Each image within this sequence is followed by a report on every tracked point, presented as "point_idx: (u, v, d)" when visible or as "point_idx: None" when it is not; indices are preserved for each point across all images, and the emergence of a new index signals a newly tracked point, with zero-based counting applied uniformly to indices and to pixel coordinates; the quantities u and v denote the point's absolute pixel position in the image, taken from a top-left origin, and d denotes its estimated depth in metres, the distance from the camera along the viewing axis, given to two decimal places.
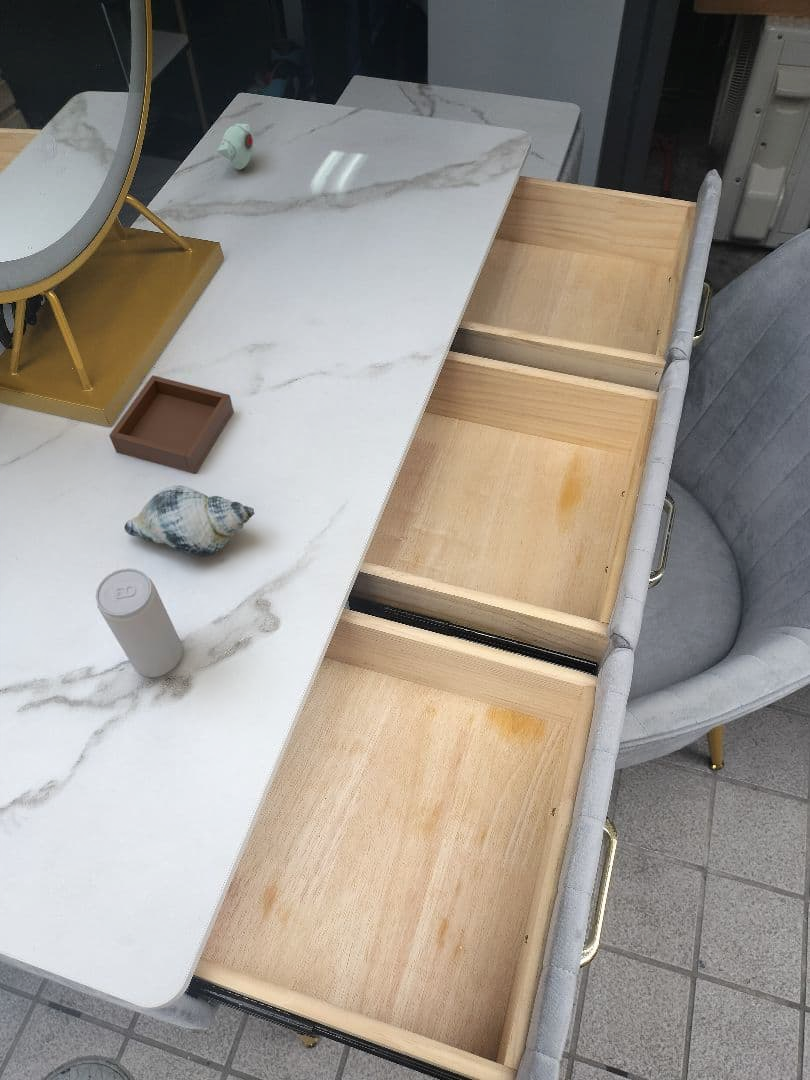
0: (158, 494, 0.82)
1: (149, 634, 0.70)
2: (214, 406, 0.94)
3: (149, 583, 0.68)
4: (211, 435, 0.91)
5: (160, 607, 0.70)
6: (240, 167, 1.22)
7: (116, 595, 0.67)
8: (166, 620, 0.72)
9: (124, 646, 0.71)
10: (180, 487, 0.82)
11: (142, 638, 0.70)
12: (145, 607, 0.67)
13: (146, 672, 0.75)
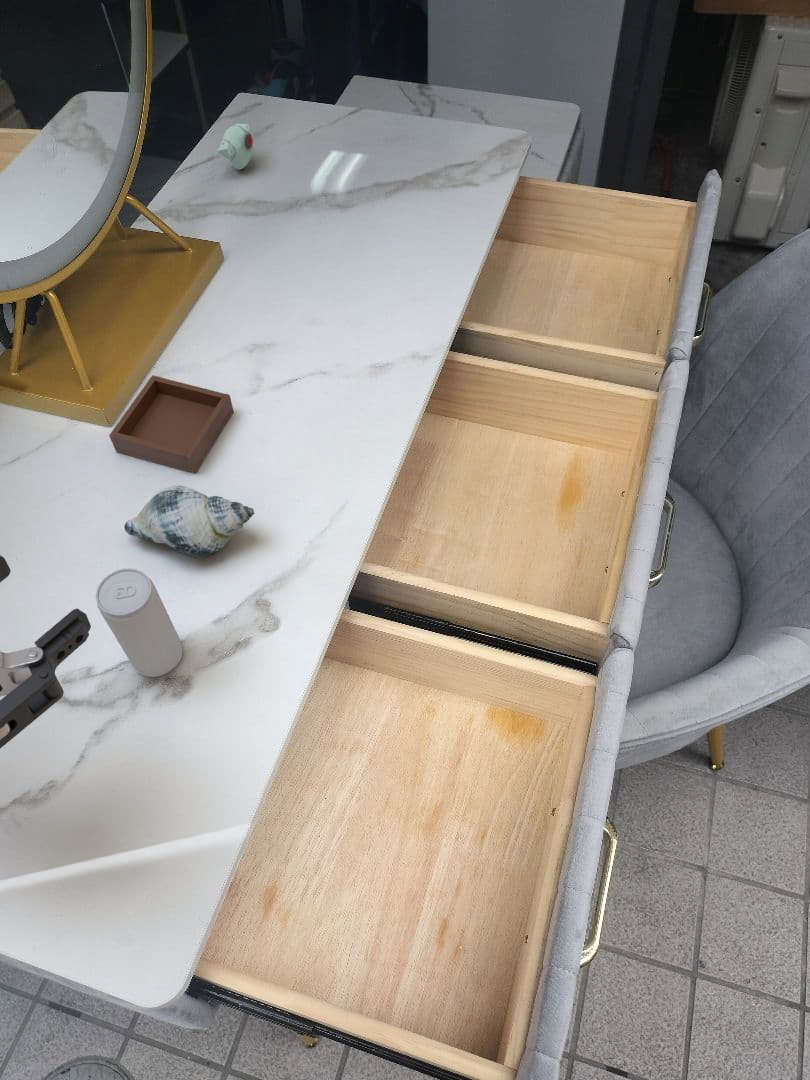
0: (158, 494, 0.82)
1: (149, 634, 0.70)
2: (214, 406, 0.94)
3: (149, 583, 0.68)
4: (211, 435, 0.91)
5: (160, 607, 0.70)
6: (240, 167, 1.22)
7: (116, 595, 0.67)
8: (166, 620, 0.72)
9: (124, 646, 0.71)
10: (180, 487, 0.82)
11: (142, 638, 0.70)
12: (145, 607, 0.67)
13: (146, 672, 0.75)
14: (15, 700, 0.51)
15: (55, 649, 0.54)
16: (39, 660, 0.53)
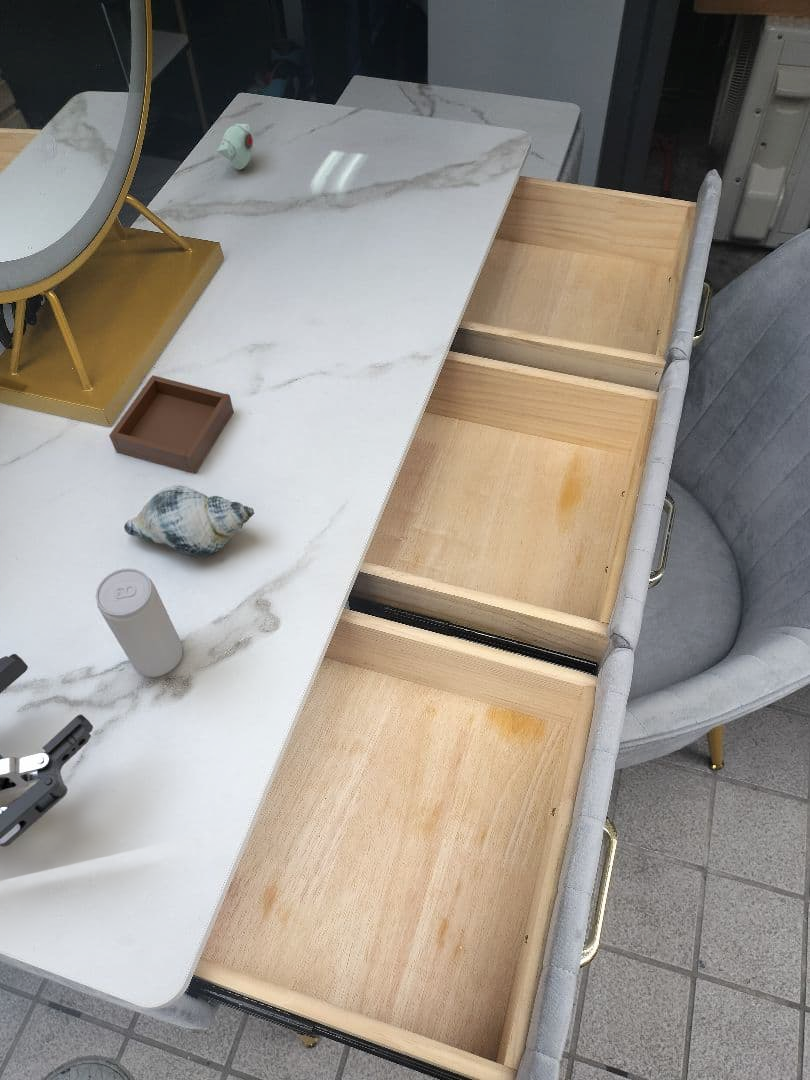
0: (158, 494, 0.82)
1: (149, 634, 0.70)
2: (214, 406, 0.94)
3: (149, 583, 0.68)
4: (211, 435, 0.91)
5: (160, 607, 0.70)
6: (240, 167, 1.22)
7: (116, 595, 0.67)
8: (166, 620, 0.72)
9: (124, 646, 0.71)
10: (180, 487, 0.82)
11: (142, 638, 0.70)
12: (145, 607, 0.67)
13: (146, 672, 0.75)
14: (23, 804, 0.60)
15: (60, 754, 0.63)
16: (45, 766, 0.62)
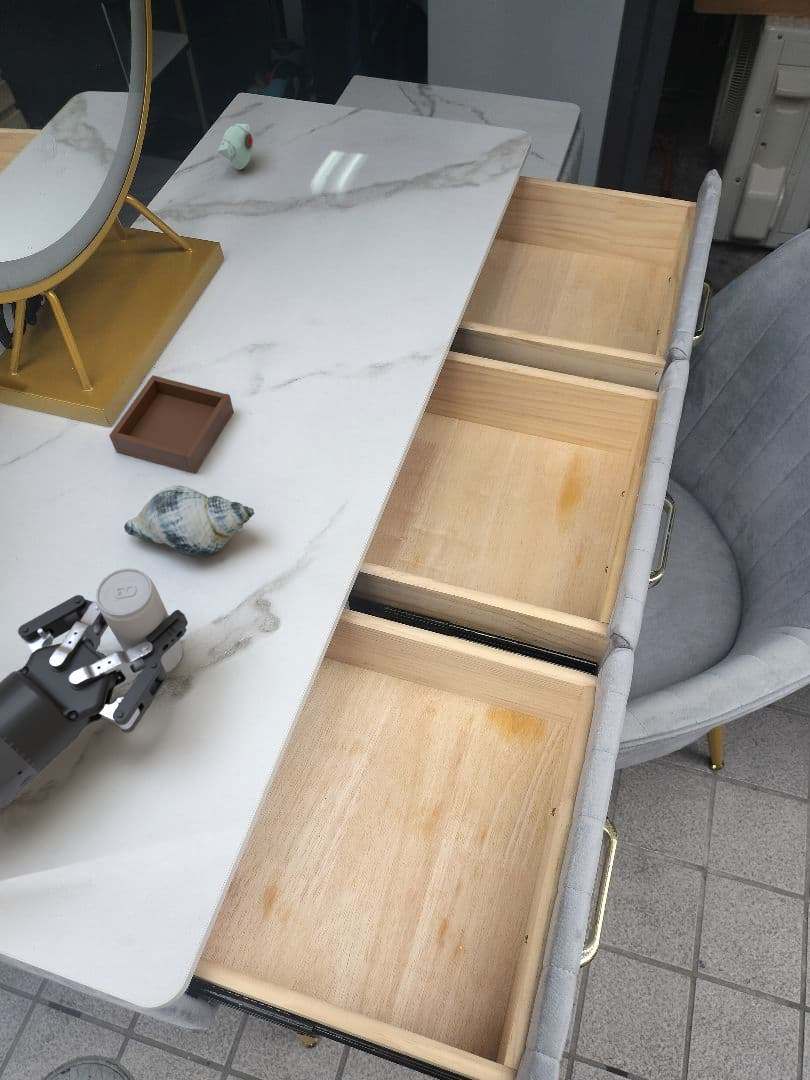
0: (158, 494, 0.82)
1: None
2: (214, 406, 0.94)
3: (149, 583, 0.68)
4: (211, 435, 0.91)
5: (160, 607, 0.70)
6: (240, 167, 1.22)
7: (116, 595, 0.67)
8: None
9: (124, 646, 0.71)
10: (180, 487, 0.82)
11: (143, 638, 0.70)
12: (145, 607, 0.67)
13: None
14: (139, 688, 0.67)
15: (161, 643, 0.69)
16: (149, 652, 0.69)
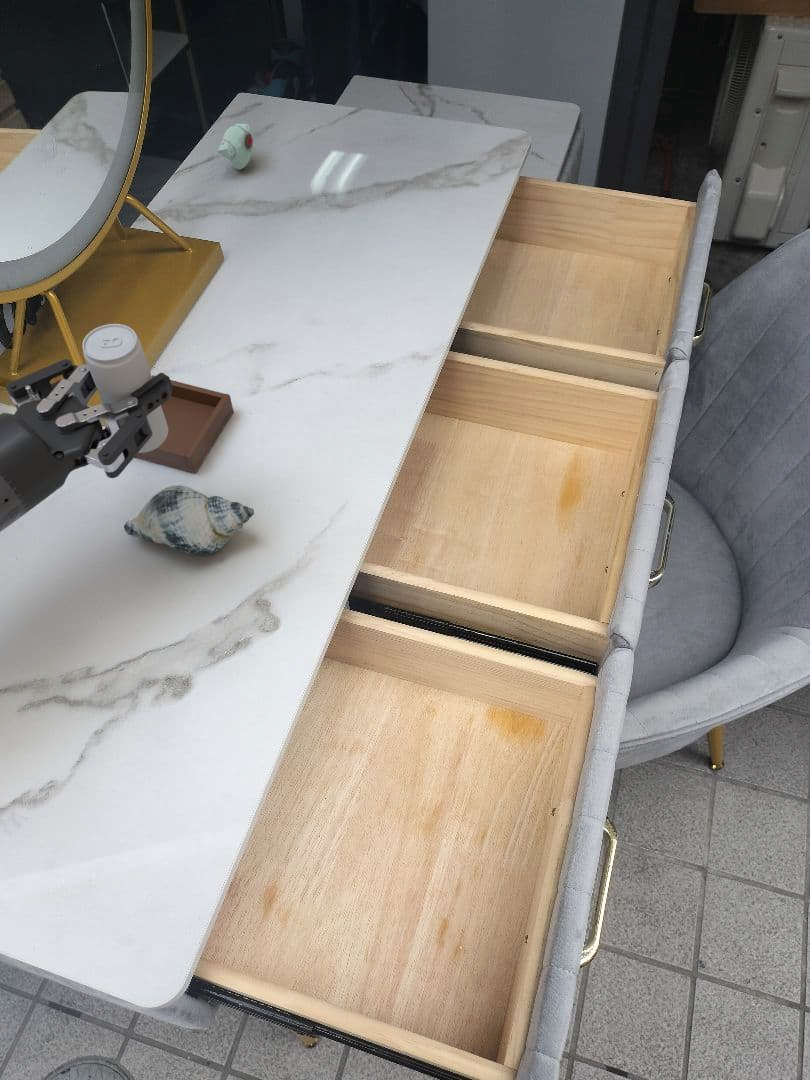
0: (158, 494, 0.82)
1: None
2: (214, 406, 0.94)
3: (135, 336, 0.70)
4: (211, 435, 0.91)
5: (146, 365, 0.71)
6: (240, 167, 1.22)
7: (102, 345, 0.69)
8: None
9: None
10: (180, 487, 0.82)
11: (128, 395, 0.71)
12: (131, 356, 0.69)
13: None
14: (124, 433, 0.68)
15: (146, 400, 0.71)
16: (135, 405, 0.70)
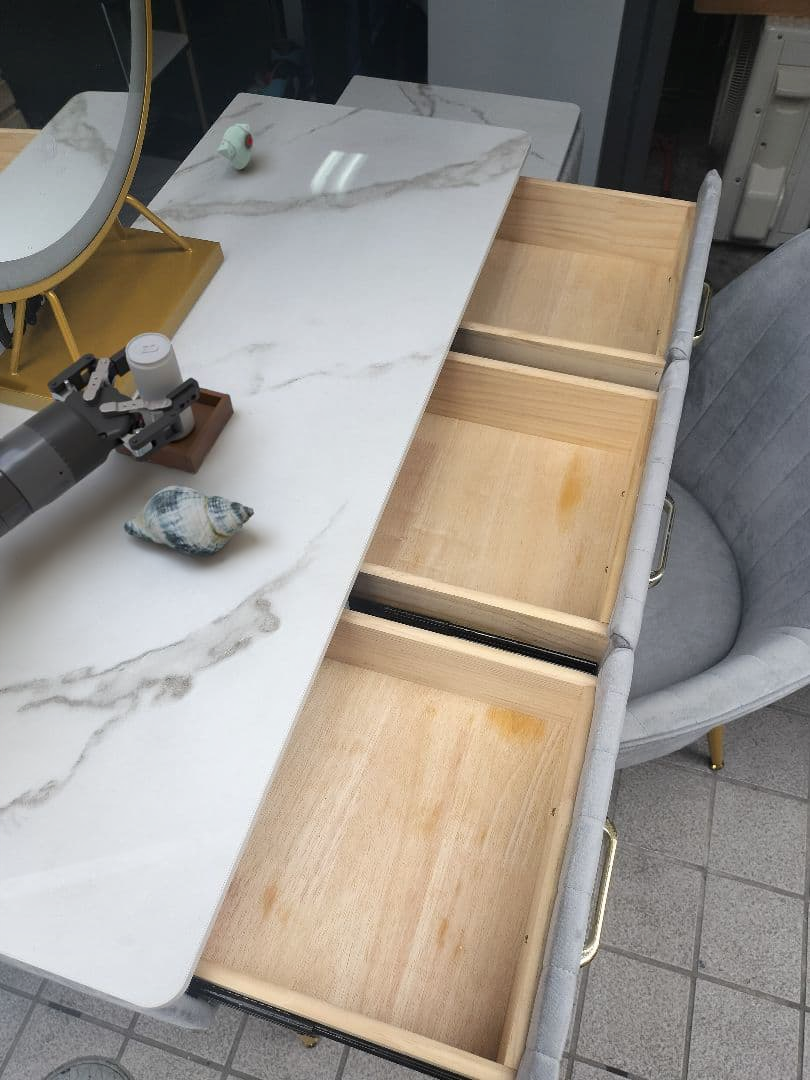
0: (158, 494, 0.82)
1: (168, 389, 0.85)
2: (214, 406, 0.94)
3: (169, 342, 0.83)
4: (211, 435, 0.91)
5: (177, 367, 0.85)
6: (240, 167, 1.22)
7: (142, 350, 0.83)
8: None
9: None
10: (180, 487, 0.82)
11: (163, 392, 0.85)
12: (166, 360, 0.83)
13: None
14: (155, 427, 0.81)
15: (179, 401, 0.83)
16: (169, 406, 0.82)
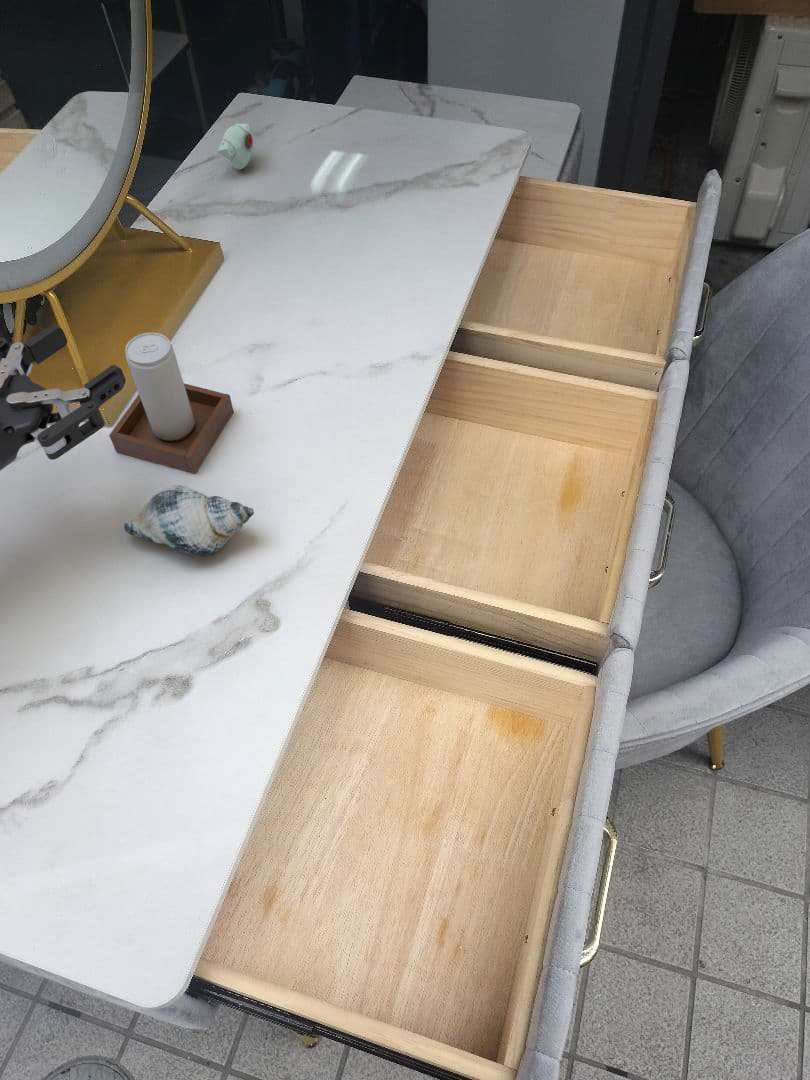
0: (158, 494, 0.82)
1: (168, 389, 0.85)
2: (214, 406, 0.94)
3: (168, 342, 0.83)
4: (211, 435, 0.91)
5: (177, 367, 0.85)
6: (240, 167, 1.22)
7: (142, 350, 0.83)
8: (182, 383, 0.87)
9: (147, 403, 0.86)
10: (180, 487, 0.82)
11: (163, 392, 0.85)
12: (165, 360, 0.83)
13: (165, 434, 0.90)
14: (69, 420, 0.71)
15: (98, 391, 0.74)
16: (87, 396, 0.73)
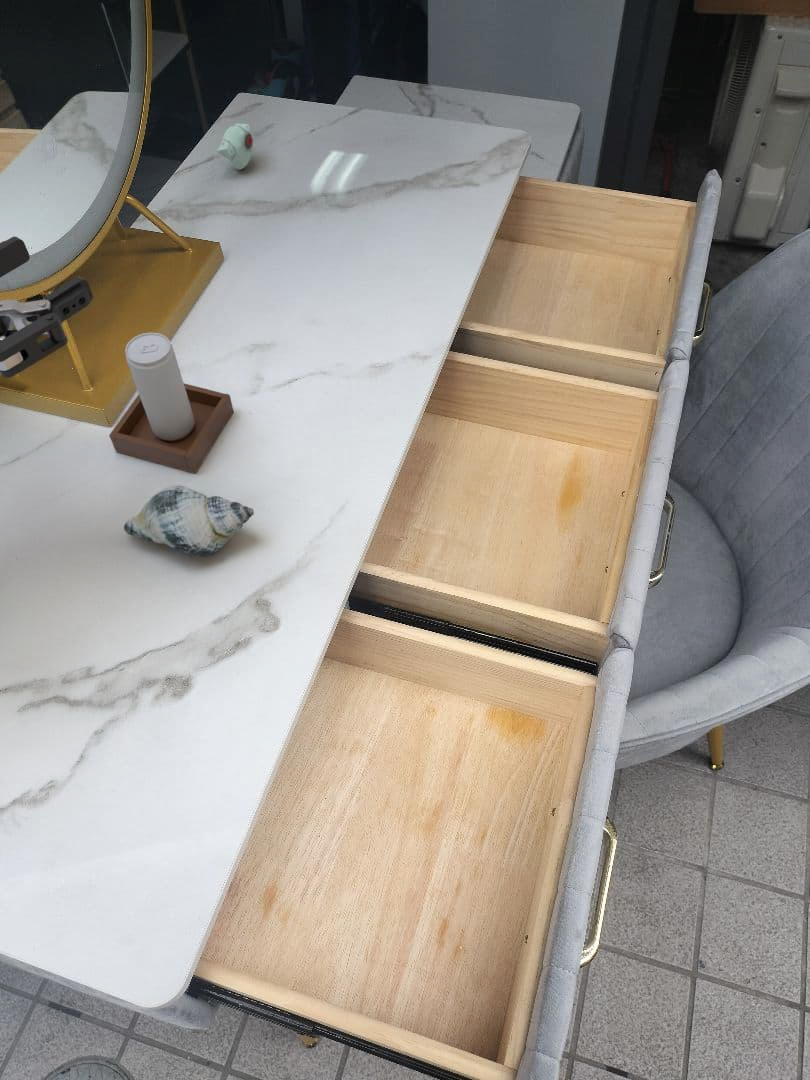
0: (157, 494, 0.82)
1: (168, 389, 0.85)
2: (214, 406, 0.94)
3: (168, 342, 0.83)
4: (211, 435, 0.91)
5: (177, 367, 0.85)
6: (240, 167, 1.22)
7: (142, 350, 0.83)
8: (182, 383, 0.87)
9: (147, 403, 0.86)
10: (180, 487, 0.82)
11: (162, 392, 0.85)
12: (165, 360, 0.83)
13: (165, 434, 0.90)
14: (26, 333, 0.63)
15: (61, 304, 0.66)
16: (47, 309, 0.65)
